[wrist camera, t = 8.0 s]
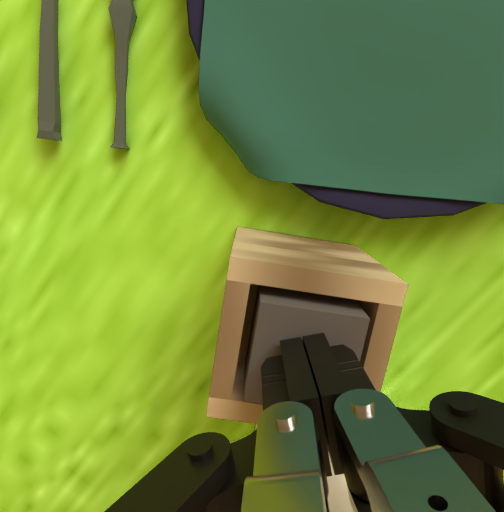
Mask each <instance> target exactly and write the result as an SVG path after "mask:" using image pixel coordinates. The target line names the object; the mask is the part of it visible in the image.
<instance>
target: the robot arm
mask: <svg viewBox="0 0 504 512" xmlns="http://www.w3.org/2000/svg"><path fill="white" fill-rule="evenodd" d="M302 339H303V343H302ZM302 339H301V337H296V338H291V339H285V340H280V346H281V352H282V355H279V356H274V357H268V358H266V360H265V361H264V363H263V364H262V366H261V377H262V378H261V381H262V401H263V412H262V413H261V414H260V416H259V418H258V424H257V429H256V430H255V431H254V432H253V433H251V434H250V435H248V436H247V437H245V438H243V439H241V440H238V441H236V442H234V443H231V444H230V442H229V440H228V439H227V438H226V437H225V436H224V435H222V434H219V433H214V432H207V433H202V434H198V435H195V436H193V437H191V438H189V439H187V440H186V441H184V442H183V443H182V444H181V445H180V446H178V447H177V448H176V449H175V450H174V451H173V452H172V453H171V454H169V455H168V456H167V457H166V458H165V459H164V460H163V461H161V462H160V463H159V464H158V465H157V466H156V467H155V468H153V469H152V470H151V471H150V472H149V473H148V474H147V475H146V476H144V477H143V478H142V479H141V480H140V481H139V482H138V483H136V484H135V485H134V486H133V487H132V488H131V489H130V490H128V491H127V492H126V493H125V494H124V495H123V496H122V497H121V498H119V499H118V500H117V501H116V502H115V503H114V504H113V505H111V506H110V507H109V508H108V509H107V510H106V511H105V512H330V509H329V503H328V494H329V488H328V482H327V477H329V476H332V471H331V465H330V460H331V463H332V467H333V470H334V474H335V475H340V474H344V476H345V479H346V482H347V488H348V494H349V500H350V503H351V506H352V509H353V511H354V512H504V480H503V470H504V403H502V402H499V401H496V400H492V399H489V398H486V397H483V396H480V395H477V394H473V393H469V392H461V391H452V392H446V393H442V394H439V395H437V396H436V397H434V398H433V399H432V400H431V402H430V407H429V408H430V411H426V410H408V409H402V408H398V407H395V405H394V404H393V403H392V401H391V400H390V399H389V398H388V397H387V396H386V395H385V394H383V393H381V392H379V391H376V389H375V388H374V386H373V384H372V382H371V381H370V379H369V377H368V375H367V374H366V372H365V370H364V368H363V367H362V365H361V363H360V361H359V360H358V358H357V356H356V354H355V352H354V351H353V350H352V349H350V348H349V347H347V346H345V345H343V344H341V345H335V346H330V345H329V343H328V341H327V338H326V336H325V334H324V333H318V334H313V335H307V336H302ZM303 345H304V346H303ZM328 452H329V454H328ZM329 456H330V460H329Z"/></svg>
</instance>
